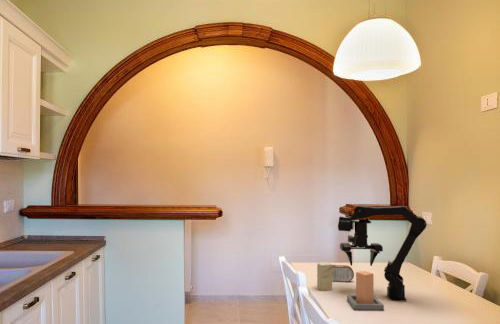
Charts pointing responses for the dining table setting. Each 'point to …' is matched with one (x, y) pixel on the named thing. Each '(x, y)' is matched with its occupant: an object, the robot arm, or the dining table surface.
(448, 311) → the dining table surface
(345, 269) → the tin
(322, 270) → the skincare box
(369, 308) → the tray
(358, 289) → the peach square prism
